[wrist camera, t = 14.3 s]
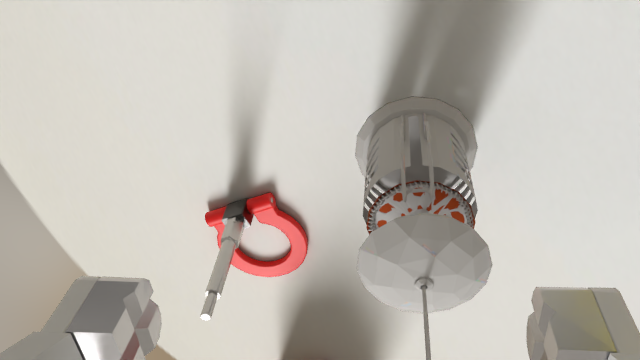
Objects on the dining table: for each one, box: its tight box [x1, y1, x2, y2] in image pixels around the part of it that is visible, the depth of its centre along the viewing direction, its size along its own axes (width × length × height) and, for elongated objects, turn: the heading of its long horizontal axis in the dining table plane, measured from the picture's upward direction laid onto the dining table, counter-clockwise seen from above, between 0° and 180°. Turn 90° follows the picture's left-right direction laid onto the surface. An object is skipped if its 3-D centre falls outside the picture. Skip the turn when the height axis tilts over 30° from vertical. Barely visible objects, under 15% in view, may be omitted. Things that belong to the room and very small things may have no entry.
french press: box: [355, 97, 492, 360], centre depth 35 cm, size 10×12×25 cm
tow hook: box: [201, 192, 308, 320], centre depth 47 cm, size 8×13×9 cm
